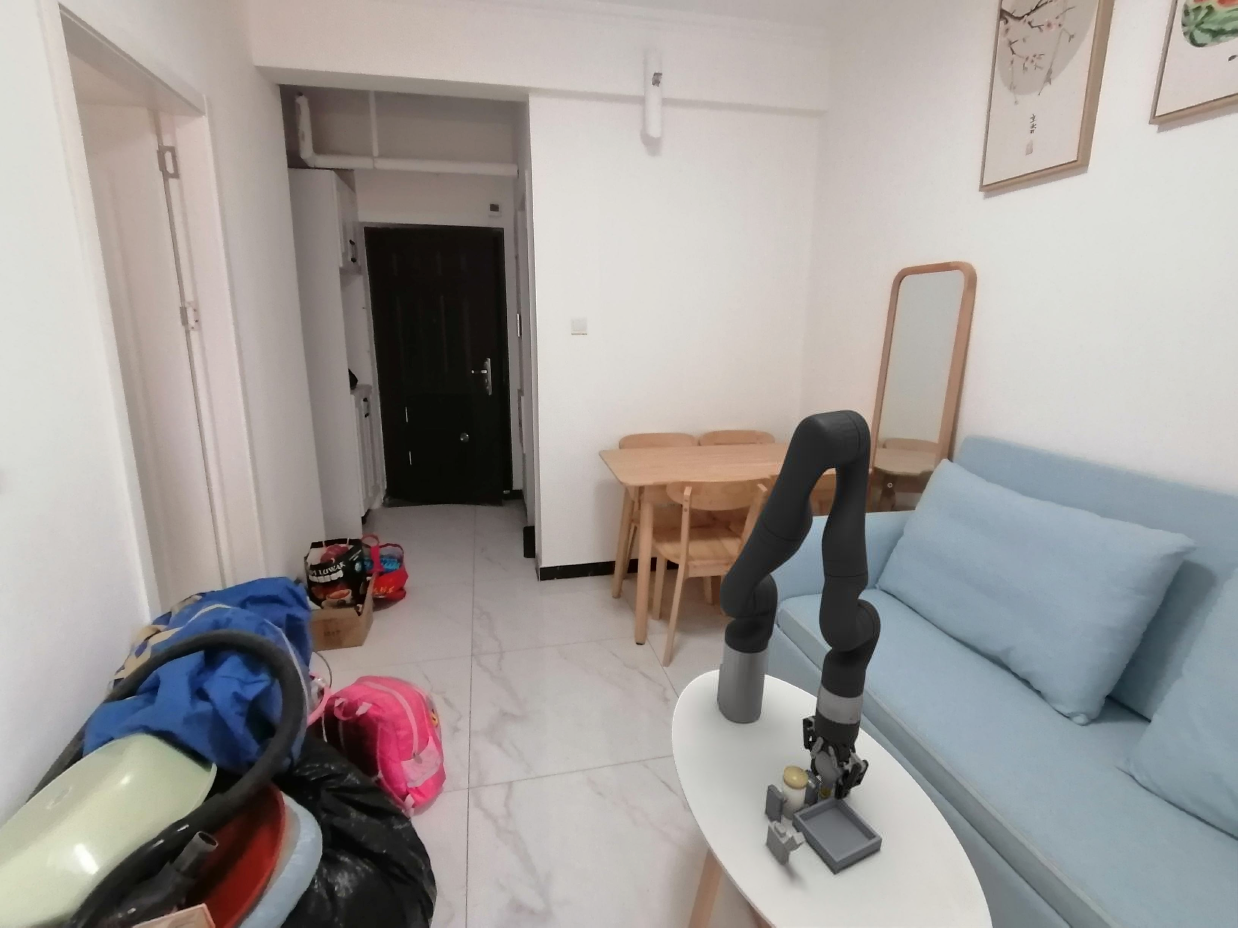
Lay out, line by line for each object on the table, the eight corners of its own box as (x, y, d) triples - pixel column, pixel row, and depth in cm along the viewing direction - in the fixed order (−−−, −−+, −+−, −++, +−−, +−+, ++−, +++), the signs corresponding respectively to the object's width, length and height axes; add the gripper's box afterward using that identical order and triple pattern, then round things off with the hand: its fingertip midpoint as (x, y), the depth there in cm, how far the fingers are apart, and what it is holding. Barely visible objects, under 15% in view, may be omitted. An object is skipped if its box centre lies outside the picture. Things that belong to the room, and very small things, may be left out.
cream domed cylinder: (773, 805, 109) (778, 769, 107) (791, 798, 111) (796, 762, 109) (789, 823, 106) (794, 786, 103) (808, 815, 107) (813, 778, 105)
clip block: (764, 812, 108) (767, 785, 106) (837, 780, 115) (841, 755, 113) (776, 826, 105) (779, 799, 103) (850, 793, 112) (854, 766, 111)
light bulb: (842, 810, 109) (851, 766, 106) (811, 804, 110) (819, 760, 107) (838, 786, 114) (846, 743, 111) (808, 780, 115) (815, 738, 112)
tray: (792, 825, 105) (793, 813, 105) (835, 805, 110) (837, 794, 109) (834, 873, 97) (836, 861, 96) (880, 849, 101) (882, 838, 100)
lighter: (765, 843, 102) (769, 805, 99) (773, 840, 102) (778, 802, 100) (792, 880, 95) (797, 840, 93) (801, 876, 96) (806, 837, 94)
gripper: (794, 689, 111) (785, 765, 115) (854, 740, 98) (842, 822, 103) (825, 678, 114) (815, 753, 119) (887, 726, 101) (873, 807, 106)
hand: (827, 785), depth 111 cm, fingers closed on light bulb, 5 cm apart
